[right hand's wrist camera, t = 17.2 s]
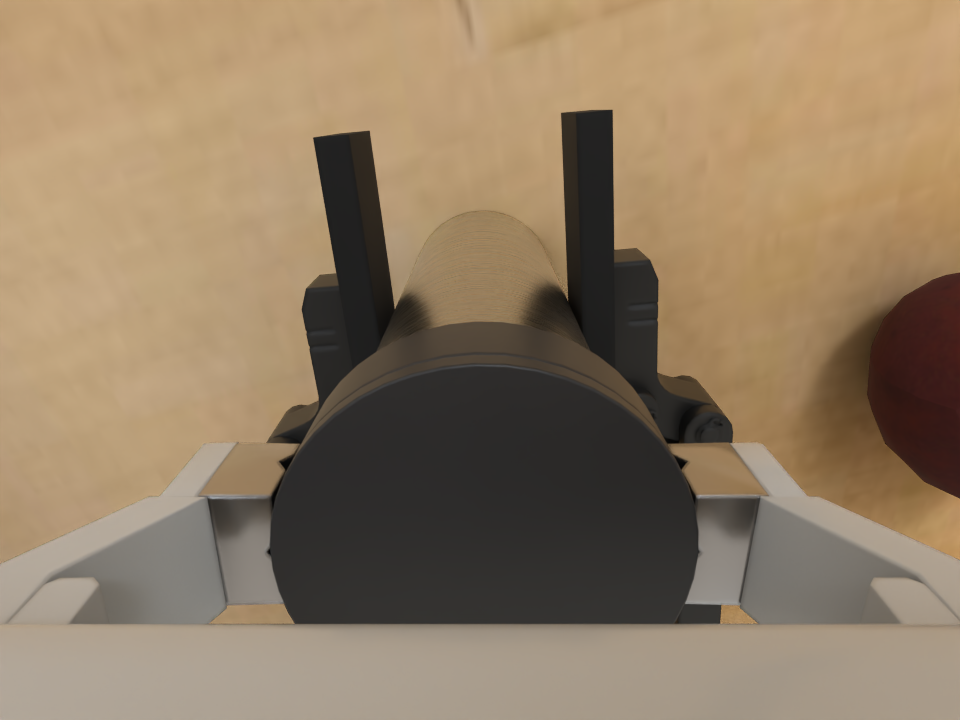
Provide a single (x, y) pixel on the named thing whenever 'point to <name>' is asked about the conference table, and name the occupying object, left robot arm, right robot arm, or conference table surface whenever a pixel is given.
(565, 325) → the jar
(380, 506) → the lid
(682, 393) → the left robot arm
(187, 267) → the conference table surface
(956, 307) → the potato
